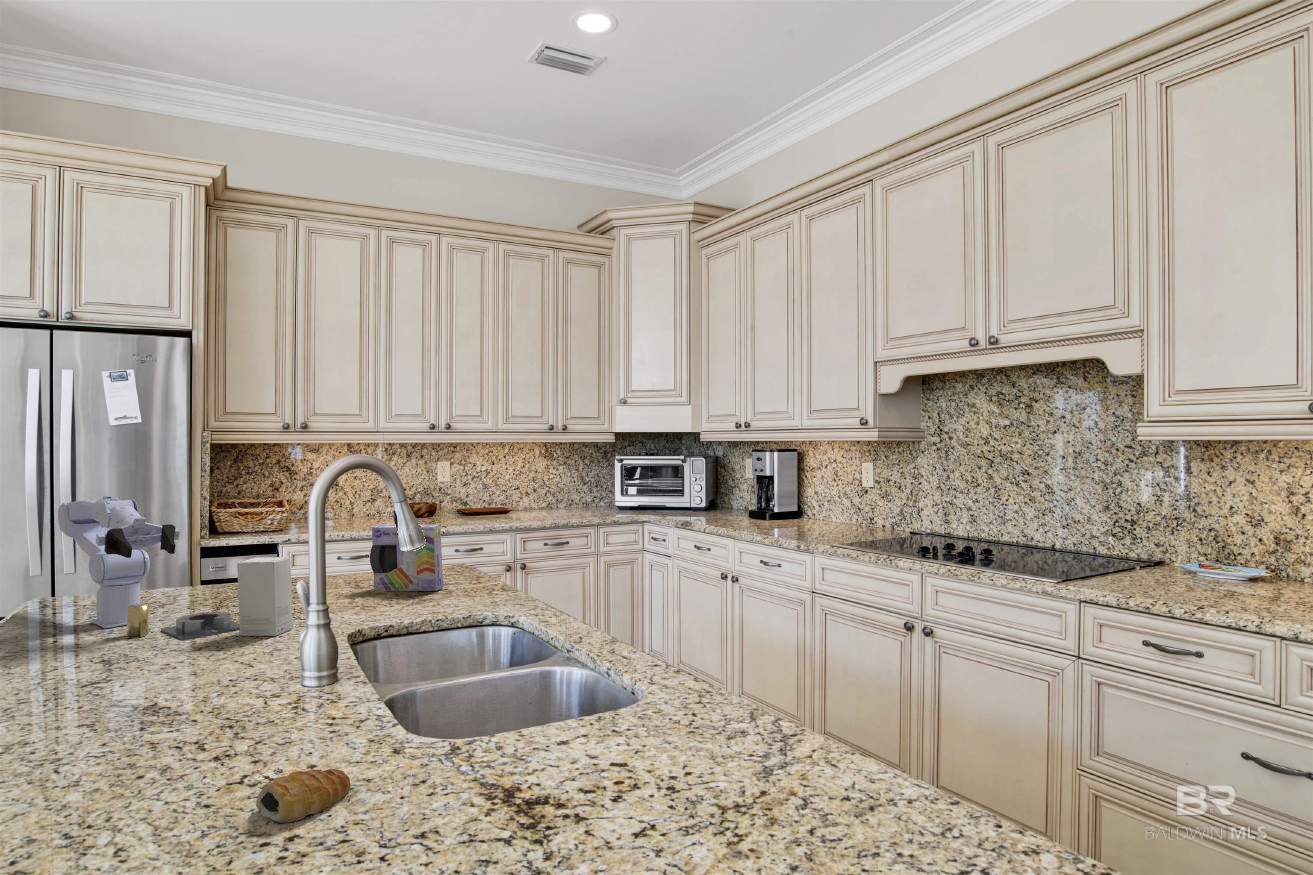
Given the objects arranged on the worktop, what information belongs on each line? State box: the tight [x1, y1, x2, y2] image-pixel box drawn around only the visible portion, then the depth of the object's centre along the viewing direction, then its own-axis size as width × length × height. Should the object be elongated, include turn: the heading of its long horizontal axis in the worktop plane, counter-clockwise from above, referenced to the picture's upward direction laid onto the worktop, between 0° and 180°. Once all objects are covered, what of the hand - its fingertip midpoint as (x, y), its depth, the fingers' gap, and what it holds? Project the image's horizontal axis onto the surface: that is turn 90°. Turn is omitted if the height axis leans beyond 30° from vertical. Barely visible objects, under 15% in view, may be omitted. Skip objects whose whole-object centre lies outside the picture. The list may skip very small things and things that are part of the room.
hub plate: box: [160, 611, 240, 641], centre depth 158 cm, size 12×12×3 cm
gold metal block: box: [127, 603, 150, 638], centre depth 154 cm, size 5×4×6 cm
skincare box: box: [237, 556, 294, 637], centre depth 155 cm, size 8×7×16 cm
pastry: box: [255, 768, 351, 824], centre depth 83 cm, size 9×7×4 cm
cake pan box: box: [369, 523, 444, 592], centre depth 200 cm, size 19×5×18 cm, turn 80°
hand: (151, 551), depth 151 cm, fingers open, 7 cm apart
